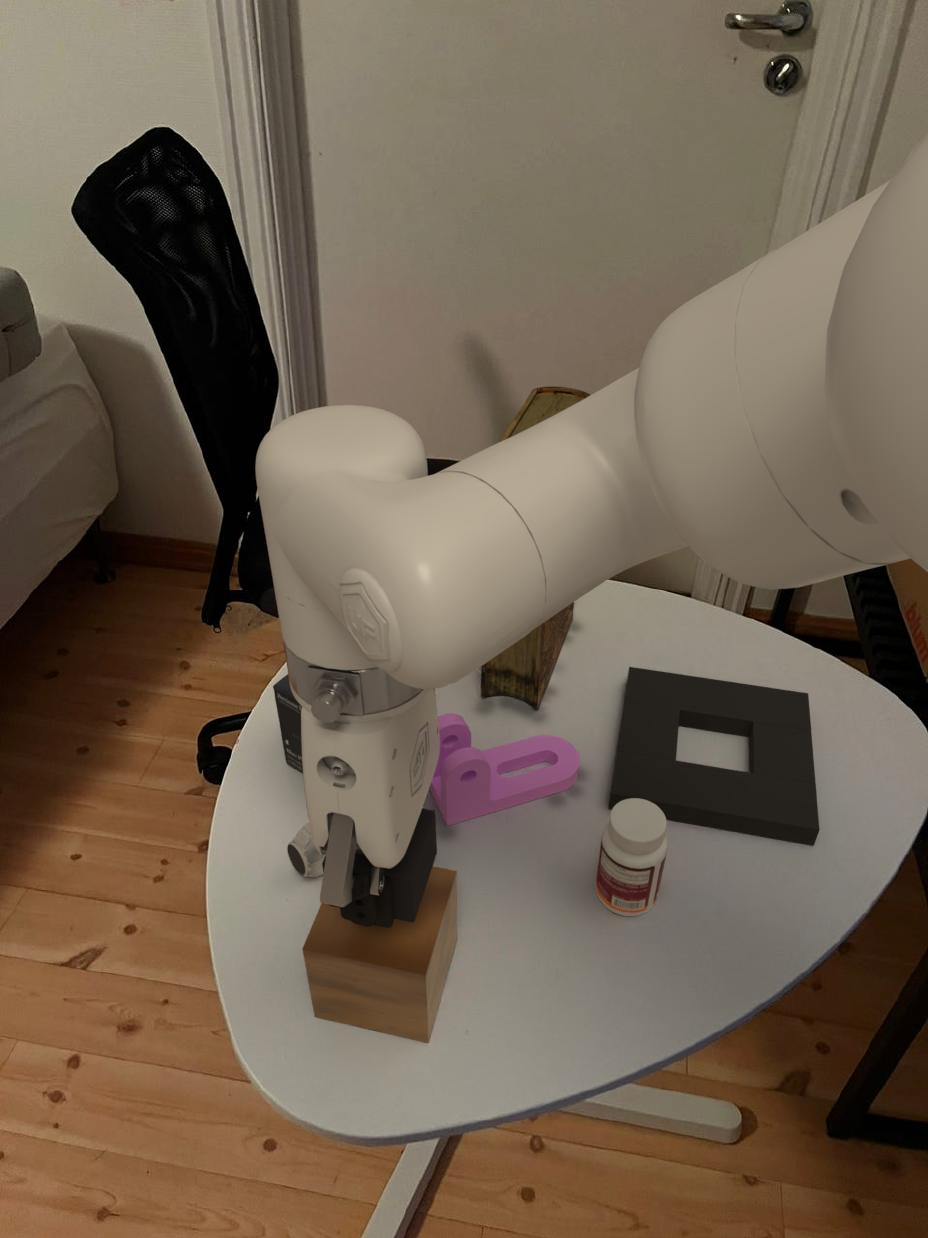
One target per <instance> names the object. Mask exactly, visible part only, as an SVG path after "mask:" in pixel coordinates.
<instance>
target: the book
mask: <svg viewBox="0 0 928 1238" xmlns="http://www.w3.org/2000/svg"><path fill="white" fill-rule="evenodd" d="M590 395H591V394H590V393H589V392H587V391H583V390H582V389H581V390H580V389H576V388H572V387H565V386H539V387H536V388H533V389H532V390H531V392H530V393H529V395H528V397H527V398H526V400H525V401H524V403H523V404H522V406H521V407H520V409H519V411H518V412H517V413H516V415H515V417H514V419H513V420H512V422H511V423H510V424H509V427H508V428H507V429H506V430H505V432H504V434H503V436H502V438H500V440H499V442H501V441H504V440H506V439H508V438H510V437H512V436H514V435H516V434H518V433H520V432H522V431H524V430H526V429H528V428H530V427H532V426H534V425H536V424H538V423H540V422H542V421H544V420H546V419H548V418H550V417H552V416H554V415H556V414H558V413H559V412H561V411H563V410H565V409H567V408H569V407H571V406H572V405H574V404H576V403H578V402H580V401H581V400H583V399H585V398H587V397H588V396H590ZM574 609H575V601H574V602H573V603H571V604H570V605H568V606H567V607H566V608H564V609H563V610H561V611H560V612H558V613H557V614H555V615H554V616H553V617H551V618H550V619H548V620H547V621H545V622H544V623H542V624H541V625H539V626H538V627H536V628H535V629H533V630H532V631H531V632H530V633H529V634H527V635H526V636H525V637H523V638H522V639H520V640H519V641H517V642H516V643H514V644H513V645H512V646H510V647H509V648H507V649H506V650H504V651H503V652H501V653H500V654H498V655H497V656H495V657H494V658H492V659H491V660H489V661H488V662H487V663H485V664H484V665H482V666H481V667H480V697H482V698H488V697H491V696H510V697H514V698H517V699H520V700H522V701H523V702H526V703H527V704H529V705H531V706H533V709H537V710H539V709H540V706H541V704H542V702H543V699H544V696H545V694H546V692H547V689H548V686H549V683H550V682H551V678H552V676H553V673H554V670H555V669H556V665H557V663H558V659H559V657H560V654H561V652H562V649H563V648H564V647H563V646H564V644H565V641H566V638H567V636H568V633H569V631H570V628H571V625H572V622H573V620H574Z"/></svg>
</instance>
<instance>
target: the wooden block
mask: <svg viewBox="0 0 928 1238" xmlns="http://www.w3.org/2000/svg"><path fill="white" fill-rule="evenodd" d="M457 873H458V871H457V870H453V869H449V868H444V867H438V866H434V865H433V867H432V870H431V873H430V876H429V879H428V882H427V885H426V888H425V891H424V894H423V897H422V900H421V903H420V906H419V909H418V912H417V915H416V918H415V922H414V923H412V922H407V921H402V920H397V919H394V922H393V925H392V927H390V928H385V927H380V926H375V925H373V926H370V927H367V926H361V925H357V924H355V923H353V922H351V921H350V920H346V919H344V918H343V917H342V916H341V913H340V908H338V907H333V906H329V904H324V903H321V902H320V906H319V909H318V911H317V913H316V915H315V918H314V920H313V922H312V925H311V927H310V930H309V932H308V935H307V937H306V939H305V941H304V944H303V946H302V955H303V960H304V965H305V966H304V967H305V970H306V971H305V972H306V977H307V983H308V987H309V993H310V999H311V1004H312V1010H313V1015H314V1018H317V1019H321V1020H326V1021H331V1022H334V1023H338V1024H339V1023H340V1024H342V1025H343V1024H344V1025H347V1026H352V1027H357V1028H361V1029H366V1030H368V1031H369V1030H370V1031H374V1032H379V1033H383V1034H387V1035H391V1036H395V1037H399V1038H404V1039H407V1040H408V1039H409V1040H412V1041H416V1042H421V1043H425V1044H429V1043H430V1041H431V1037H432V1033H433V1031H434V1026H435V1022H436V1019H437V1016H438V1015H437V1014H438V1012H439V1007H440V1005H441V1001H442V998H443V997H442V996H443V993H444V990H445V985H446V982H447V979H448V975H449V972H450V968H451V964H452V960H453V957H454V953H455V949H456V945H457V943H458V876H457V875H458V874H457Z"/></svg>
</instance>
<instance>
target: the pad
mask: <svg viewBox="0 0 928 1238" xmlns="http://www.w3.org/2000/svg"><path fill="white" fill-rule="evenodd" d="M436 820H437V819H436V810H434V809H429V808H423V807H422V810H421V813H420V816H419V818H418V821H417V824H416V827H415V829H414V832H413V835H412V837H411V840H410V843H409V845H408V848H407V850H406V852H405V855H404V856H403V858H402V859H401V861H400V862H399V863H398V864H397V865H395V866H394V867H392V868H385V877H387V878H389V879H391V884H392V895H393V906H394V916H395V919H397V920H402V921H407V922H412V923H414V922H415V918H416V915H417V912H418V909H419V906H420V903H421V900H422V897H423V894H424V891H425V888H426V885H427V882H428V879H429V876H430V873H431V870H432V867H433V866H434V863H435V860H436V857H437V855H438V844H437V843H438V842H437V822H436ZM324 856H325V858H324V860H323V863H322V867H323V873H324V867H325V860H326V855H324ZM370 863H371V862H370V861H369V860H368V858H367V857H366V856H361V855H356V854H355V859H354V865H353V866H354V867H359V868H364V869H369V870H370ZM329 906H333V907H338V908H340V907H339V906H334V905H329Z"/></svg>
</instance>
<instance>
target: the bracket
mask: <svg viewBox="0 0 928 1238" xmlns="http://www.w3.org/2000/svg"><path fill="white" fill-rule="evenodd" d="M438 724H439V735H440V753H439V758H438V763H437V766H436V770H435V773H434V776H433V779H432V782H431V785H430V787H429V790H430V793H431V794H432V797H433V799H434V801H435V803H436V805H437V807H438V809H439V812H440V814H441V816H442V818H443V820H444V822H445V825H446V826H447V827H449V826H452V825H456V824H459V823H463V822H466V821H469V820H472V819H476V818H479V817H482V816H486V815H489V814H492V813H496V812H498V811H502V810H505V809H509V808H512V807H516V806H519V805H522V804H526V803H529V802H532V801H535V800H538V799H539V800H540V799H542V798H545V797H548V796H552V795H555V794H559V793H562V792H565V791H566V790H568V789H570V788H571V787H572V786H573V785H574V784H575V783H576V782H577V780H578V778H579V775H580V773H579V771H580V765H581V758H580V753H579V751H578V749H577V748H576V747H575V746H574V745H573V744H572V743H571V742H569V741H568V740H566V739H564V738H562V737H560V736H556V735H550V734H541V735H535V736H531V737H527V738H524V739H520V740H517V741H513V742H509V743H506V744H502V745H498V746H496V747H491V748H487V749H485V750H480V749H479V748H476V747H472V732H471V730H470V728H469V726H468V725H467V722H466V721H465V719H464V717H462V715H461V714H458V713H453V712H449V713H442V714H440V715H438ZM544 762H545V763H546V762H548V763H551V764H552V765H549V766H546V767H545V766H544V767H541V768H539V769H535V770H533V771H532V770H531V771H528V772H525V773H521V774H518V775H514V776H511V777H505V776H502V775H503V774H506V773H509V772H512V771H516V770H519V769H523V768H526V767H529V766H534V765H537V764H540V763H544Z"/></svg>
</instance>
